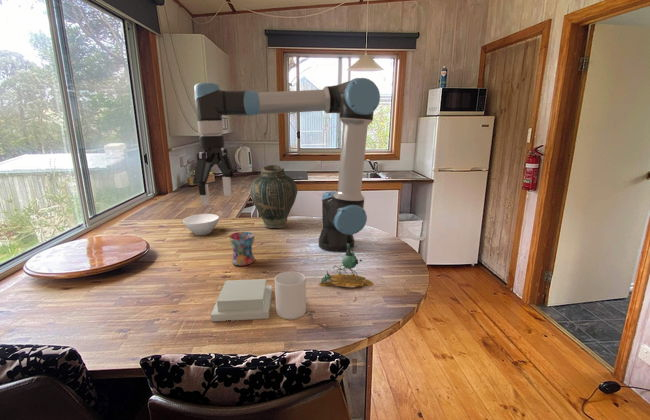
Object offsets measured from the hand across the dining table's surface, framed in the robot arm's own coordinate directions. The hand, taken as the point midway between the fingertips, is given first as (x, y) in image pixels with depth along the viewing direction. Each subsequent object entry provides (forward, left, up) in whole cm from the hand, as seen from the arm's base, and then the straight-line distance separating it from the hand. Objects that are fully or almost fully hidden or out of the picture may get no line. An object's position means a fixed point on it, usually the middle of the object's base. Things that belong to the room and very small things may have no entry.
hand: (217, 200), depth 114 cm
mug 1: (-7, -8, -26) cm, 28 cm away
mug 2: (-25, +27, -26) cm, 45 cm away
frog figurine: (-42, +13, -26) cm, 51 cm away
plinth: (-11, +24, -26) cm, 37 cm away
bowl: (+18, -44, -26) cm, 54 cm away
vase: (-16, -50, -26) cm, 58 cm away
